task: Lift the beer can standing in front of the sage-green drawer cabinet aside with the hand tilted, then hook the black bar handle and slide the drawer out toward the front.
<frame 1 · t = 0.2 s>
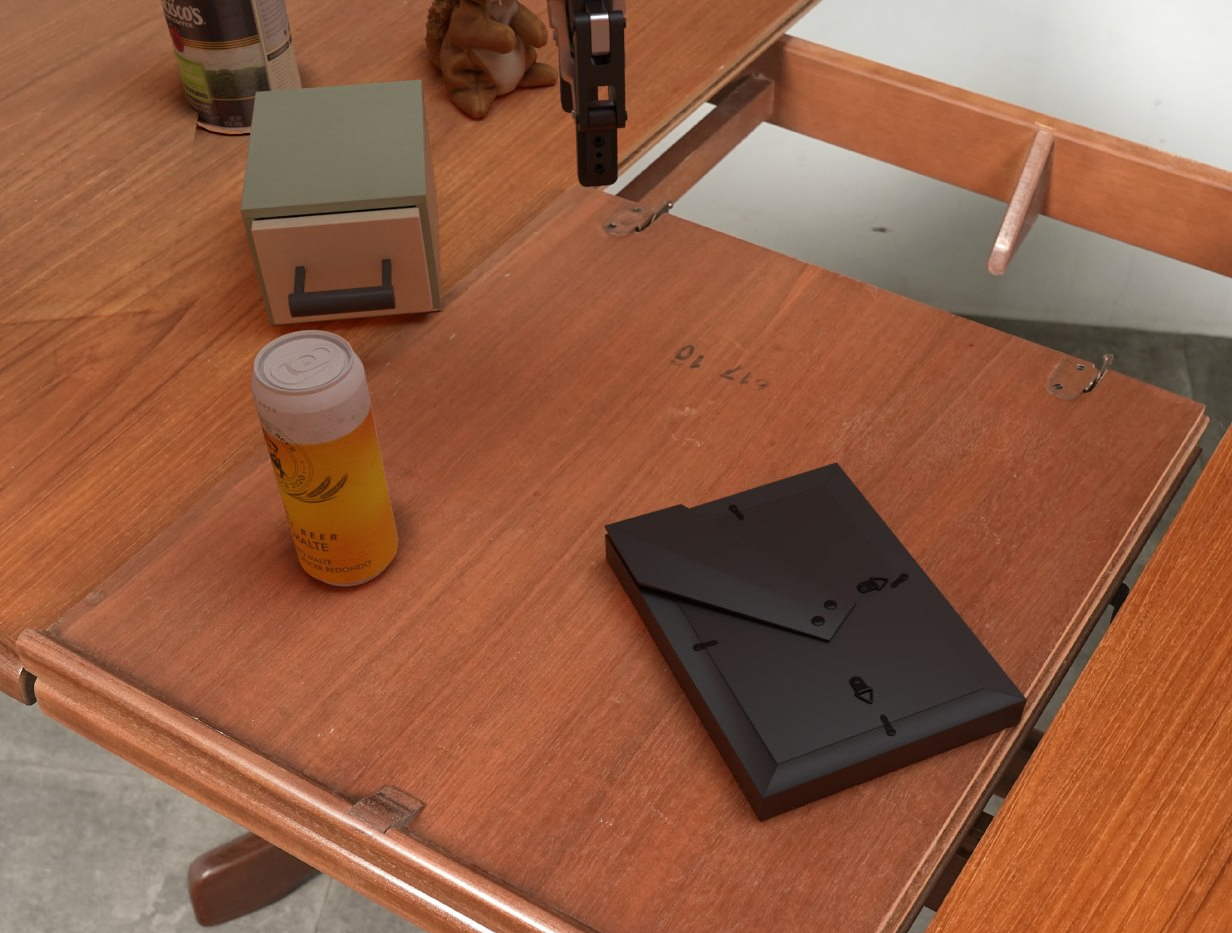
hand: (588, 145, 80), 19 cm above the table, tool pointing down, fingers open, 8 cm apart
cabinet: (357, 255, 106), on the table
picture frame: (800, 638, 79), on the table
drawer: (346, 230, 100), point 5 cm above the table, slide at 0.0 cm
coffee can: (249, 108, 122), on the table
beer can: (351, 559, 84), on the table
stuffed squirrel: (483, 80, 125), on the table
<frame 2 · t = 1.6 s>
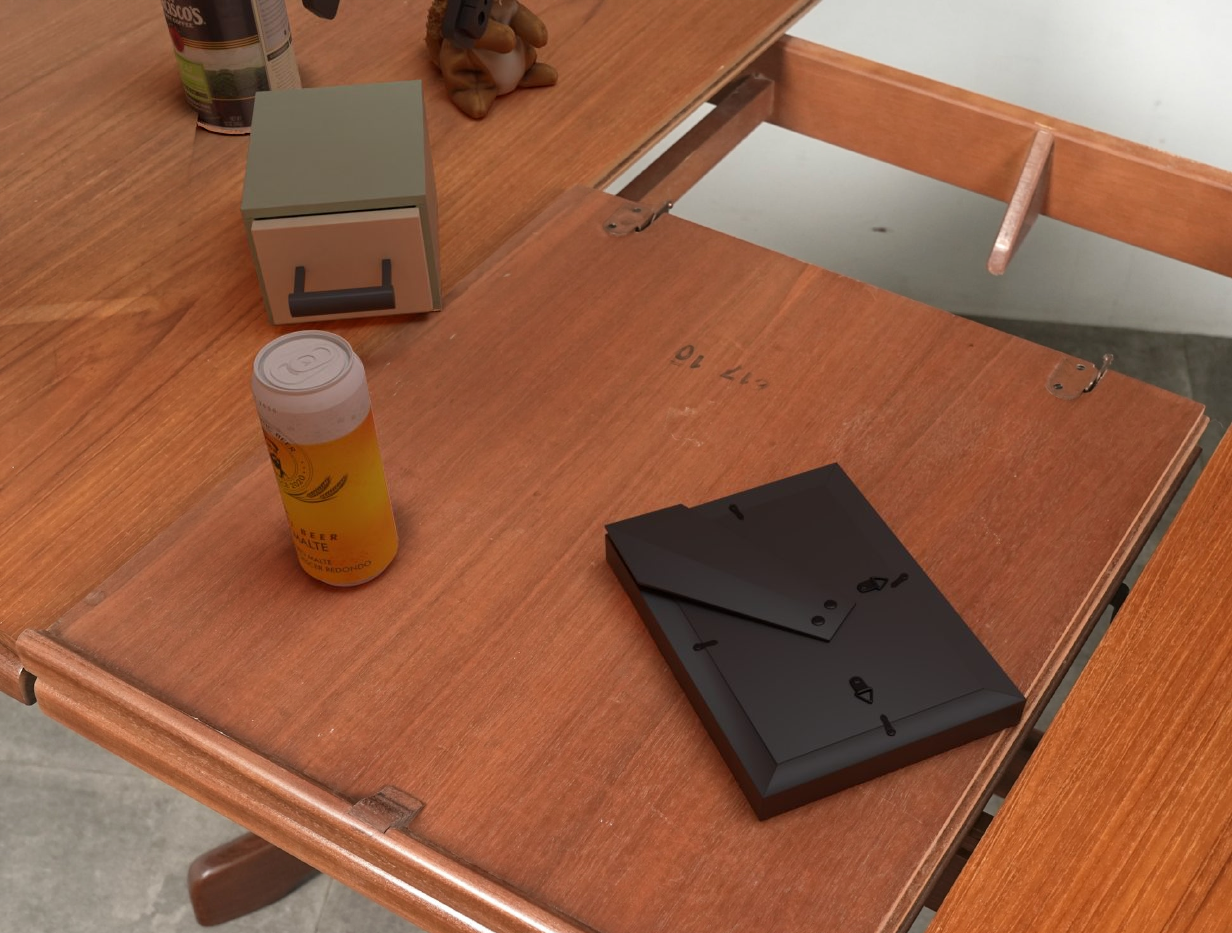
hand: (385, 28, 70), 28 cm above the table, tool tilted 45°, fingers open, 8 cm apart
nothing on the table moved.
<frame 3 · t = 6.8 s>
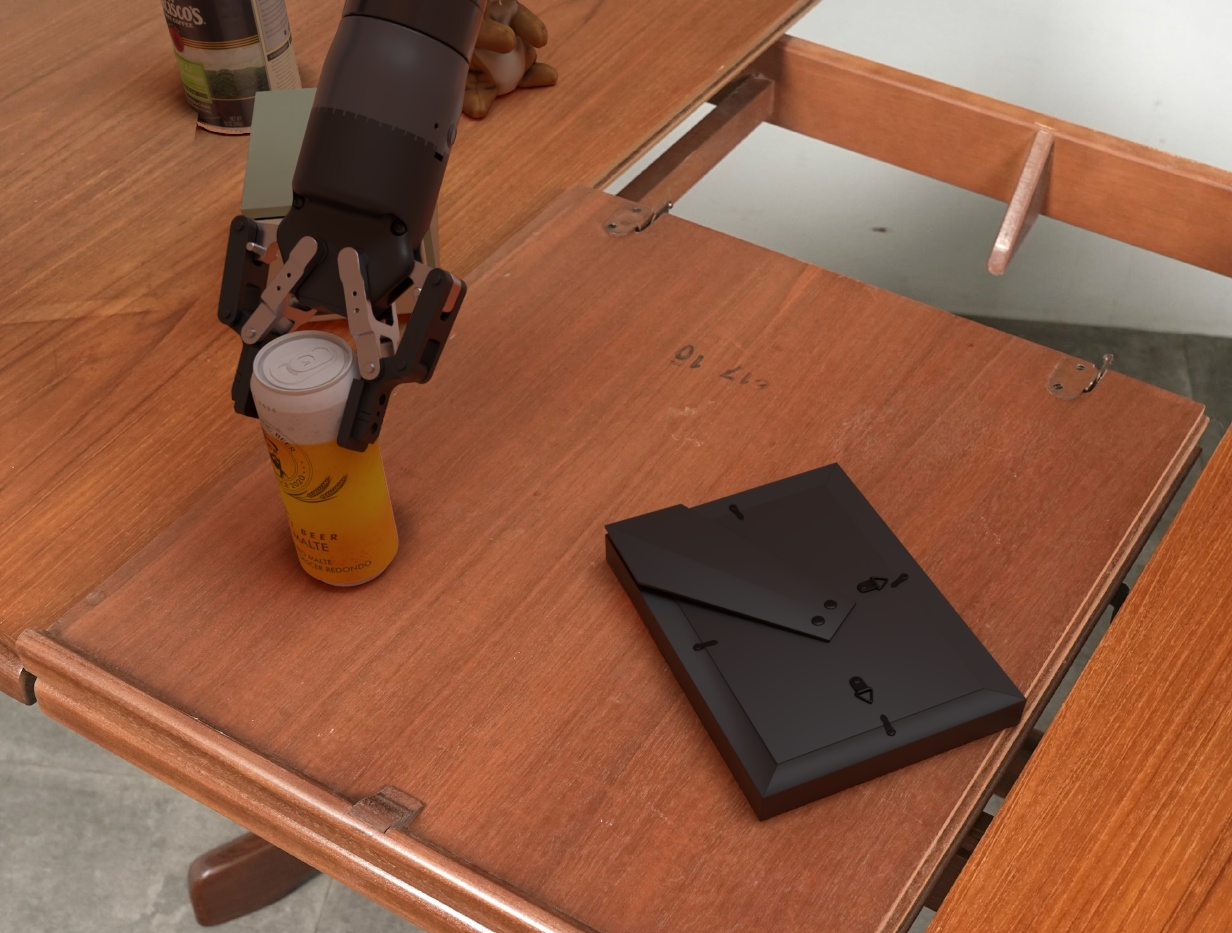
hand: (299, 431, 75), 11 cm above the table, tool tilted 45°, fingers closed on beer can, 6 cm apart
beer can: (351, 559, 84), on the table, touching gripper
everything else where it was.
when the fingers open (11 cm above the table, at t = 15.4 s): beer can stays where it is, on the table.
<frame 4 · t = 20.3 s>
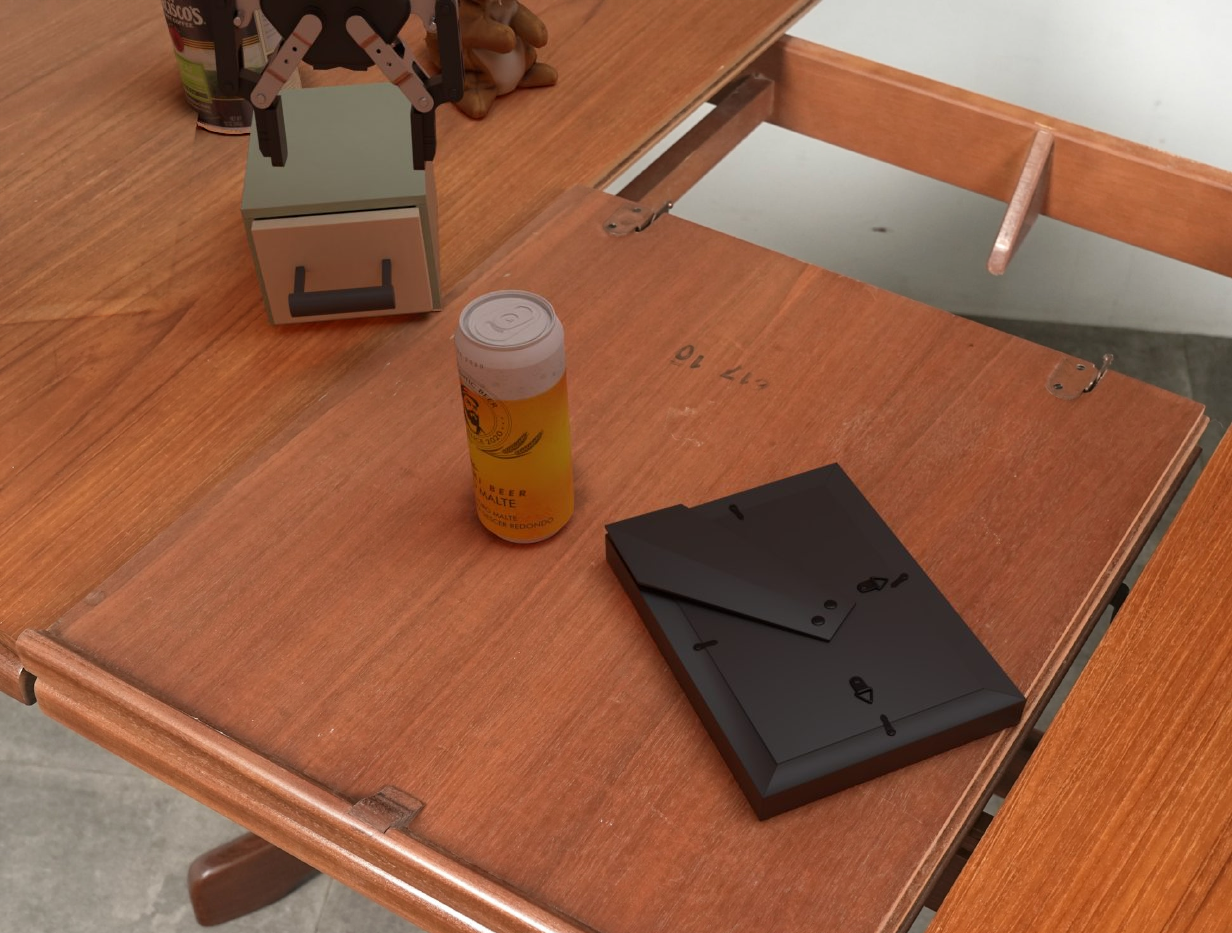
hand: (350, 163, 85), 16 cm above the table, tool pointing down, fingers open, 8 cm apart
beer can: (527, 517, 86), on the table
everything else where it was.
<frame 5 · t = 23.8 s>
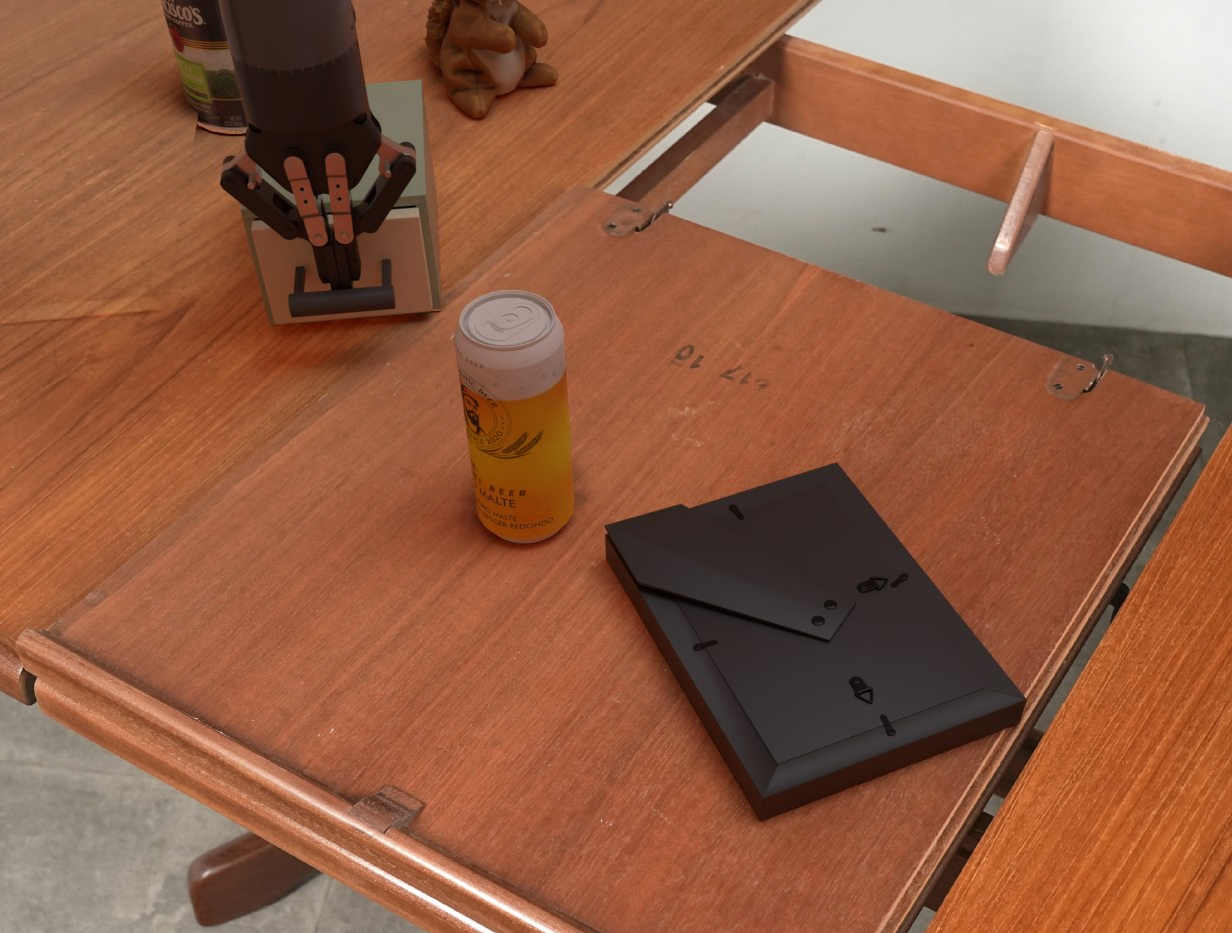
hand: (343, 283, 94), 6 cm above the table, tool pointing down, fingers closed
drawer: (346, 230, 100), point 5 cm above the table, slide at 0.0 cm, touching gripper
everything else where it was.
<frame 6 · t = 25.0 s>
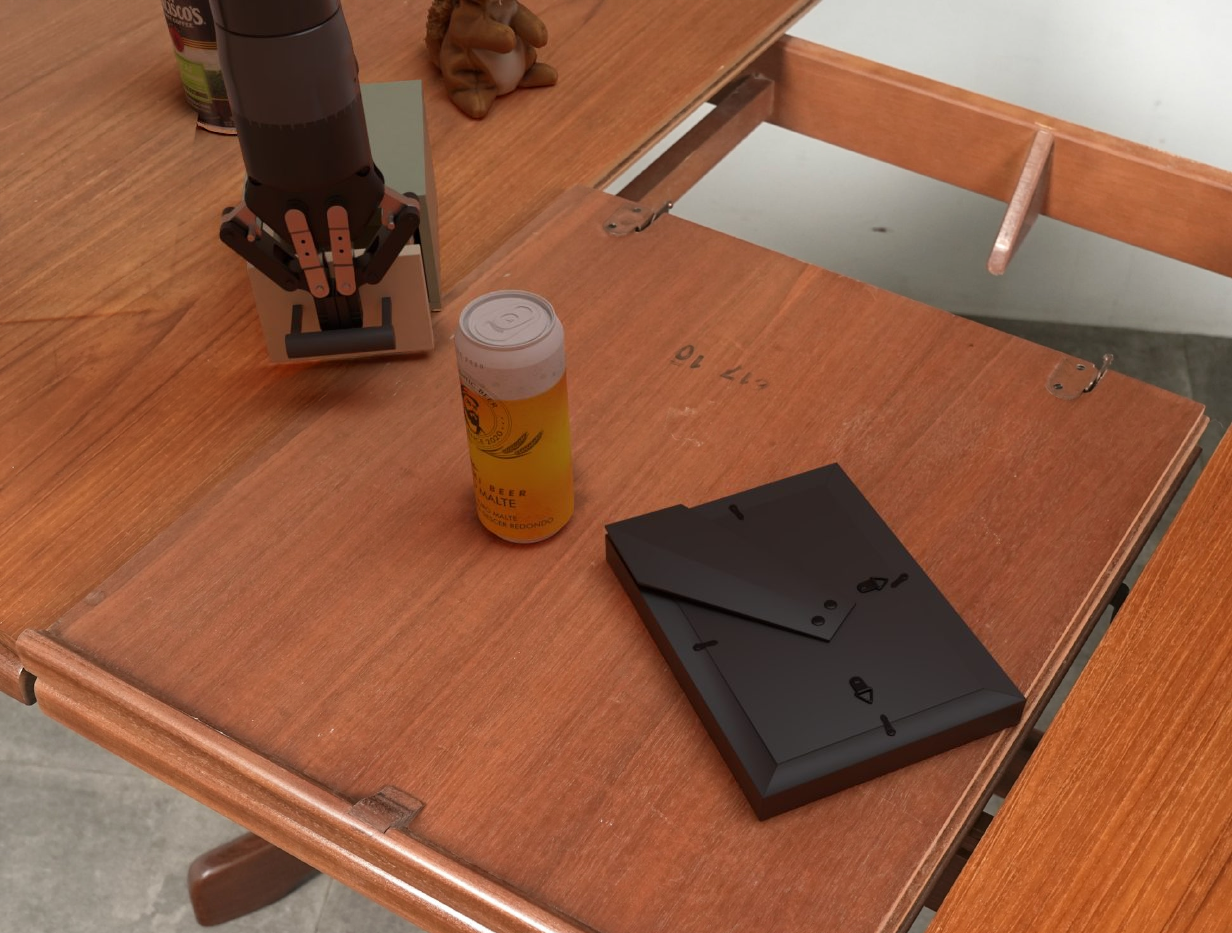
hand: (345, 333, 92), 5 cm above the table, tool pointing down, fingers closed
drawer: (345, 266, 97), point 5 cm above the table, slide at 4.6 cm, touching gripper
everything else where it was.
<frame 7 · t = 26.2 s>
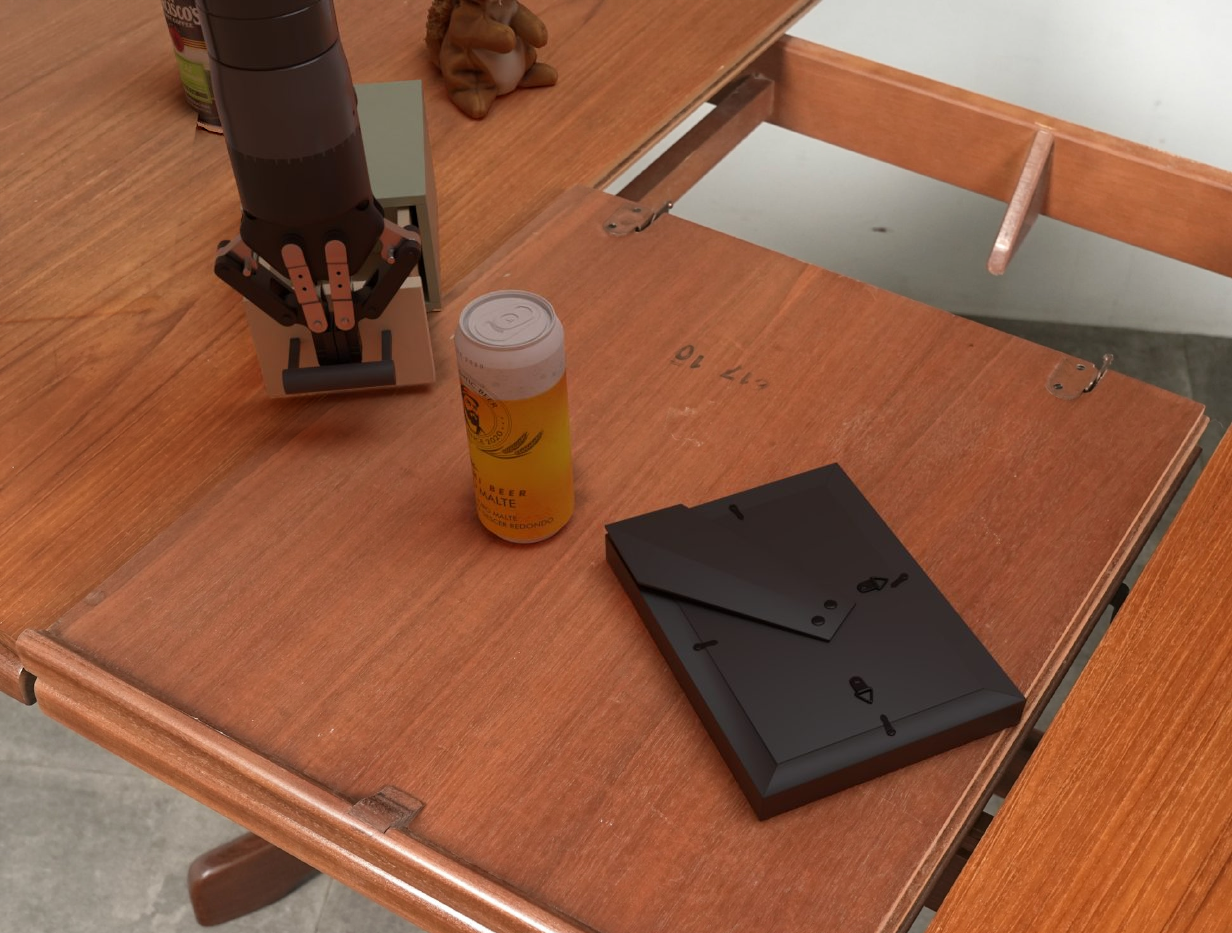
hand: (343, 368, 89), 5 cm above the table, tool pointing down, fingers closed
drawer: (344, 297, 94), point 5 cm above the table, slide at 8.3 cm, touching gripper
everything else where it was.
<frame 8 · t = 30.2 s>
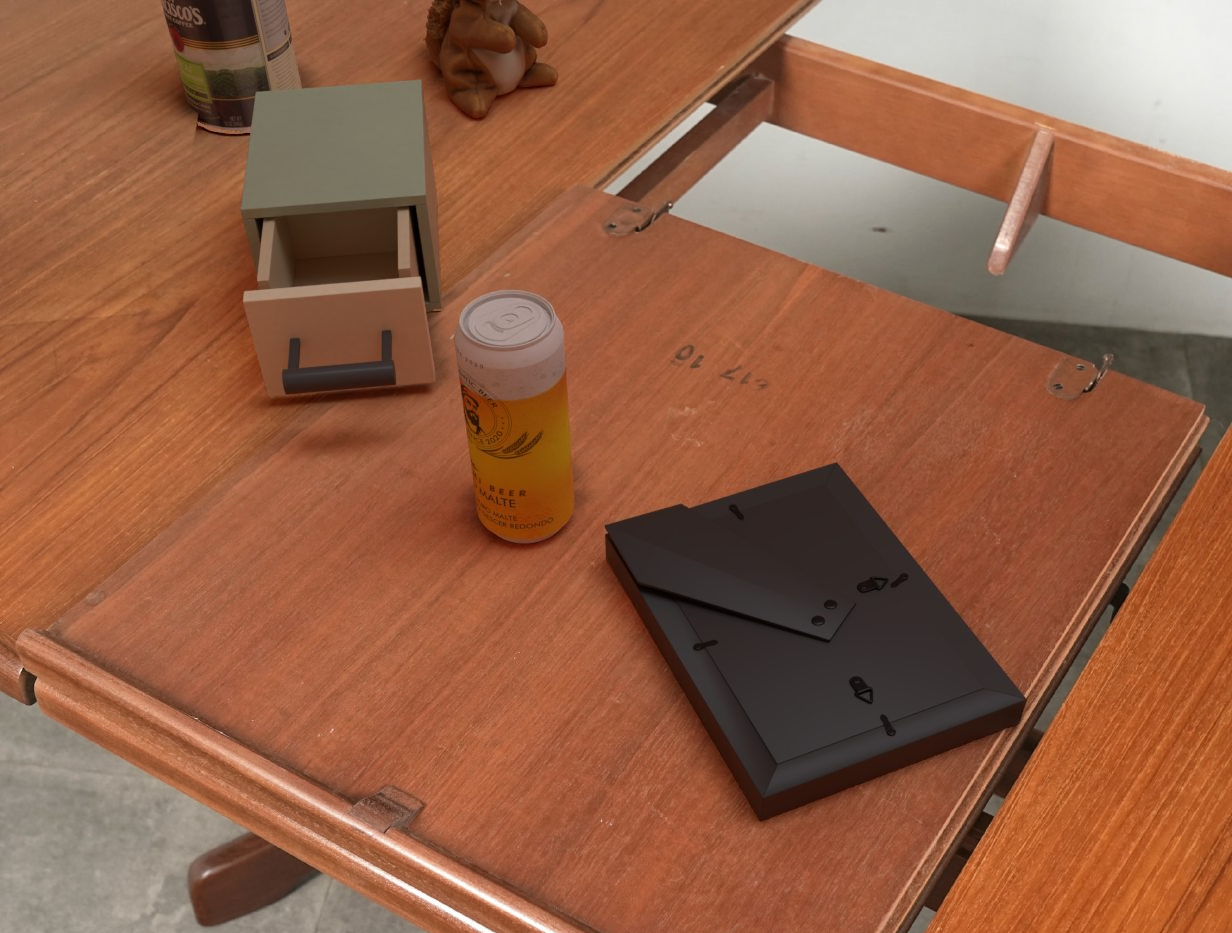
drawer: (344, 297, 94), point 5 cm above the table, slide at 8.3 cm
everything else where it was.
at the end: drawer slide at 8.3 cm; beer can inside the target area (0.2 cm from its centre), on the table; beer can tilted 0° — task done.
